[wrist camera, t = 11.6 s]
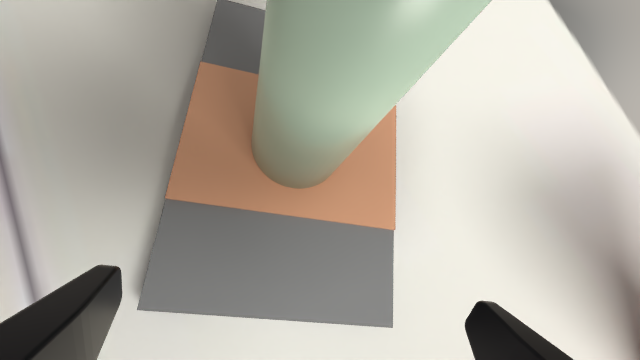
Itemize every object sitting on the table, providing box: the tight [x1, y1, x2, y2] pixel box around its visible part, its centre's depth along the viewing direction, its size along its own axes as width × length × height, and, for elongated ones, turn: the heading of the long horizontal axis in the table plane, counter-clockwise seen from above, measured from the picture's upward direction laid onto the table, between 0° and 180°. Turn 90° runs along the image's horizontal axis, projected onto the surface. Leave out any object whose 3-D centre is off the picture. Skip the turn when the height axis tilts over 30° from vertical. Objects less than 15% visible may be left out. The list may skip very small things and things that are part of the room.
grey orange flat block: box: [137, 0, 396, 328], centre depth 18 cm, size 18×12×1 cm, turn 175°
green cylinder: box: [251, 0, 492, 189], centre depth 11 cm, size 5×5×13 cm
